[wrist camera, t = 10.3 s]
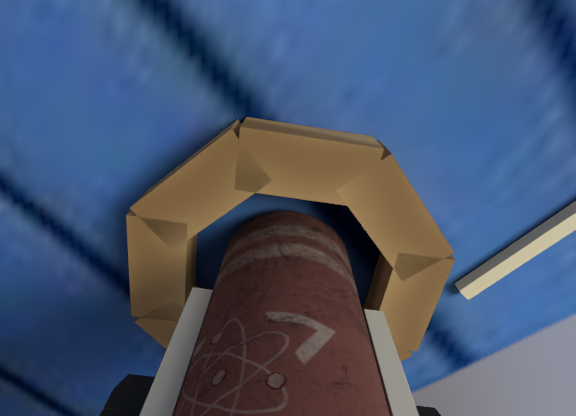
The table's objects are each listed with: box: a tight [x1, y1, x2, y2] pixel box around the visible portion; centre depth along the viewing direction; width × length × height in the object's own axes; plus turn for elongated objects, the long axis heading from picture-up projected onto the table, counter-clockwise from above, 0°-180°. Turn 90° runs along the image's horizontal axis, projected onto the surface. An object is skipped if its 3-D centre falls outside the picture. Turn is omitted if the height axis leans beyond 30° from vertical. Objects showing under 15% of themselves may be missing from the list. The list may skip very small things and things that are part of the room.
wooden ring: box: [126, 117, 455, 361], centre depth 17 cm, size 14×14×2 cm
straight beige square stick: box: [454, 201, 576, 300], centre depth 16 cm, size 10×1×1 cm, turn 136°
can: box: [172, 211, 390, 416], centre depth 11 cm, size 6×6×14 cm
